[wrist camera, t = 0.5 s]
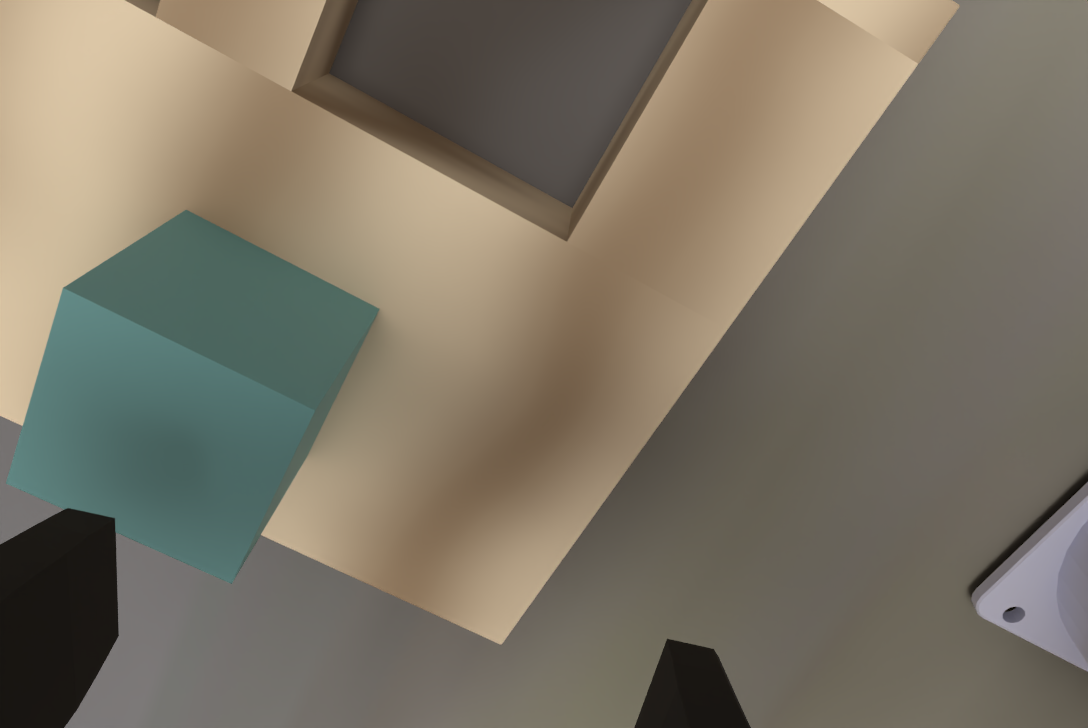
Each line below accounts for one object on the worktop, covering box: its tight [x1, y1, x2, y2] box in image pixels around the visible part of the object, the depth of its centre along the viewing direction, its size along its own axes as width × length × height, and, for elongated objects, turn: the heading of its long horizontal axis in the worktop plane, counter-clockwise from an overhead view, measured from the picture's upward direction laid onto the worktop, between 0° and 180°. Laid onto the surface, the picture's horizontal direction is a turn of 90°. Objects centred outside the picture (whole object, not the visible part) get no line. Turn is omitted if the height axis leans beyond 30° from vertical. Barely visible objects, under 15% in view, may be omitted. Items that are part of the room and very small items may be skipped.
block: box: [6, 210, 379, 584], centre depth 15 cm, size 4×4×4 cm
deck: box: [0, 0, 960, 645], centre depth 15 cm, size 23×16×4 cm
